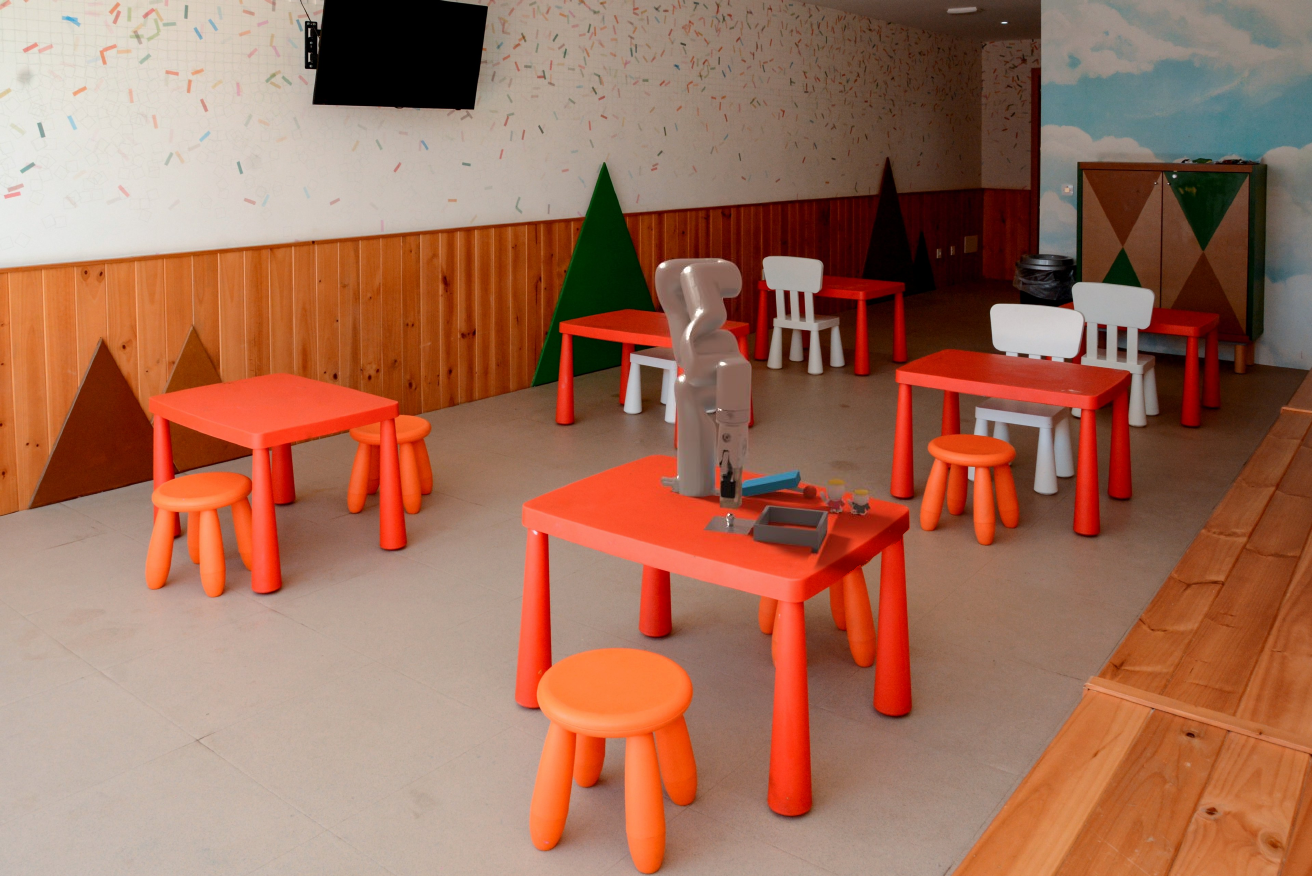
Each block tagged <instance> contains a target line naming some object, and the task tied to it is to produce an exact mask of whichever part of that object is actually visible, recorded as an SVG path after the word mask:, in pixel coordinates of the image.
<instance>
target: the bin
mask: <svg viewBox="0 0 1312 876" xmlns="http://www.w3.org/2000/svg"><path fill="white" fill-rule="evenodd" d="M828 518H829V511H827V510H818V509H817V510H816V509H808V508H807V509H806V508H799V507H787V506H779V505H778V506H777V505H768V504H767V505H766V506H765V507H764V509H763V510H762V512H761V513H760V515H759V516H758V518H757V519H756V520H757V521H756V522H755V524H754V525H753V535H752V536H753V538H752V539H753V541H756V542H757V541H758V542H765V543H772V544H773V543H775V544H783V545H792V546H793V545H794V546H801V547H809V548H810V547H811V551H810V554H814V553H817V554H819V551H820V550H821V547H822V545H823V543H824V540H825V538H826V536H827V535H828V534H827V533H828V526H829V524H828V522H829V519H828ZM770 522H771V523H779V524H780V523H782V524H791V525H800V526H810V527H816V528H815V529H807V528H797V527H790V526H781V525H780V526H779V525H769V523H770ZM817 554H816V555H817Z"/></svg>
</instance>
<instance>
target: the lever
mask: <svg viewBox="0 0 1312 876" xmlns="http://www.w3.org/2000/svg"><path fill="white" fill-rule="evenodd" d="M801 478H802V477H801V473H800V470H799V469H798V470H797V469H796V470H792V471H787V472H783V473H778V474H777V473H776V474H772V475H766V476H761V477H756V478H752V479H747V480H746V479H745V480H744V481H742V496H745V497H744V498H747V497H752V496H755V495H756V496H757V495H762V494H767V493H773V492H778V491H783V490H788V491H792V492H796V493H801V494H802V495H803V496H804V498H805V499H808V500H813V499H814V498H816V496H817V494H818V491H817V489H816V487H815V486H813V485H806V486H805V487H804V488H803V487H799V485H800V483H801V480H802V479H801Z"/></svg>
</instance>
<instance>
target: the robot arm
mask: <svg viewBox="0 0 1312 876" xmlns="http://www.w3.org/2000/svg"><path fill="white" fill-rule="evenodd" d="M654 274H655V276H654V286H655V292H656V294H657V297H658V301H659V303H660V305H661V307H662V310H663V312H664V314H665V316H666V319H667V322H668V328H669V334H670V339H671V345H672V346H671V347H672V352H673V355H674V359H675V362H676V365H678V367H679V368H681V369H683V373H682V374H680V375H678V376H677V377H676V378H675V381H674V385H673V393H674V400H675V408H676V419H677V421H676V422H677V442H676V443H677V444H676V445H677V448H676V449H677V450H676V451H677V452H676V453H677V454H676V456H677V459H676V461H677V463H676V464H677V465H676V468H677V469H676V476H673V477H669V476H661V478H660V484H661V485H662V487H667V488H671V492H673V493H676V494H677V493H678V494H679V495H681V496H684V497H693V498H700V497H701V498H702V497H708V496H709V497H710V496H718V497H720V488H717V487H716V477H717V476H716V475H717V473H716V472H717V471H716V467H717V466H718V468H719V469H720V468H721V471H720V473H721V497H723V498H731V499H734V498H735V487H736V481H734V476H735V469H737V470H738V469H739V468H740V467H742V466H744V465H745V464H746V462H747V461H748V460H749V457H750V456H749V455H750V454H749V453H750V452H749V451H750V450H749V448H750V446H749V445H750V444H749V441H750V440H749V436H750V435H749V423H750V422H751V400H752V399H751V398H752V396H751V395H752V365H751V363H750V361H748V360H747V359H746V358H745V356H744V355H743V354H742V353H741V352H740V349H739V344H738V340H737V338H736V336H735V335H734V334H733V333H732V332H731V331H730V330H727V329H720V328H721V327H722V326H723V325H724V324H725V323H726V321H727V319H728V318H727V317H728V316H727V315H728V314H727V310H726V307H725V304H724V300H723V298H724V299H726V298H727V299H729V298H730V299H731V298H736V297H738V296H739V294H740V292H741V290H742V288H743V287H742V285H743V280H742V274H741V272H740V269H739V268H738V266H737V265H736V263H733V262H732V261H730V260H725V259H723V258H719V257H717V258H713V257H709V258H708V257H707V258H674V259H669V260H665V261H663V262H661V263H660V264H658V266H657V267H656V269H655V273H654ZM713 410H715V422H714V421H713V419H712V418H711V417H710V416H709V415H708V413H707V411H713ZM715 423H717V424H719V426H718V434H717V427H716V424H715ZM717 435H718V438H717ZM728 465H732V467H728ZM728 470H731V473H730V472H728ZM720 473H719V474H720Z"/></svg>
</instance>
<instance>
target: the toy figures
mask: <svg viewBox="0 0 1312 876" xmlns="http://www.w3.org/2000/svg"><path fill="white" fill-rule="evenodd" d="M845 482H846V481H845V480H843V479H841V478H831V479H829V480H827V484H826V488H825V491H826V493H825V492H824V491H823V490H822V491H820V492H819V495H820V499H821V500H822V501H823V502H824V504H825V506H828V507H829V508H831V509H830V511H829V512H831V513H837V512H841V513H842V512H843V510H844V509H843V508H842V507H844V506H846V502H845V500H844V499H843V497H844V496H845V493H846V486H845V484H846V483H845ZM869 493H870V492H869V491H868V490H866V489H855V490H853V494H852V499H850V498H847V499H846V501H847V504H848V506H849V507H850V508H851V510H850V511H849V513H850V512H851V513H850V514H852V513H854V514H859V515H861V514H866V513H867V511H870V509H871V506H870V503H869V500H870V495H869ZM837 514H838V513H837ZM854 514H853V515H854ZM866 515H867V514H866Z"/></svg>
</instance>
